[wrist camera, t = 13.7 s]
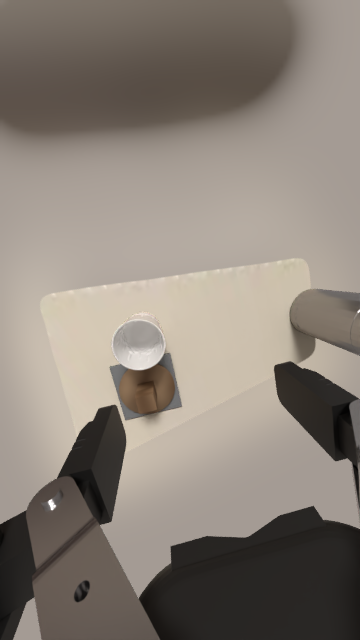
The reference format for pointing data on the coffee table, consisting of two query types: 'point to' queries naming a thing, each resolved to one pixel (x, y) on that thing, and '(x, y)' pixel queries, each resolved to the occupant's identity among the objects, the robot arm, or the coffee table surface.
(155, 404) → the lid
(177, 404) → the mat
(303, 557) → the robot arm
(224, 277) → the coffee table surface
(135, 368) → the white cup
